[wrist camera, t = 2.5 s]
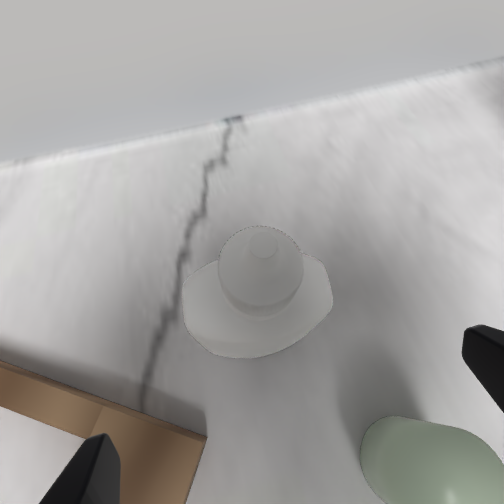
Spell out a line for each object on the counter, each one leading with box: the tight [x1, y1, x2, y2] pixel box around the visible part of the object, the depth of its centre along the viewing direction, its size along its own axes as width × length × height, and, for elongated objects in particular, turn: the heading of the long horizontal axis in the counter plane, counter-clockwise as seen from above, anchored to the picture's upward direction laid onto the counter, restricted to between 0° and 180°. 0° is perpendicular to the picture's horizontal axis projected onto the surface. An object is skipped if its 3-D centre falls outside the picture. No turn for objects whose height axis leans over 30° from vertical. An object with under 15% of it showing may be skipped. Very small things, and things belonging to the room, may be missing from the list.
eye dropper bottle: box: [182, 226, 333, 358], centre depth 14 cm, size 4×6×12 cm
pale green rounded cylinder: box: [360, 416, 504, 504], centre depth 15 cm, size 4×4×5 cm
